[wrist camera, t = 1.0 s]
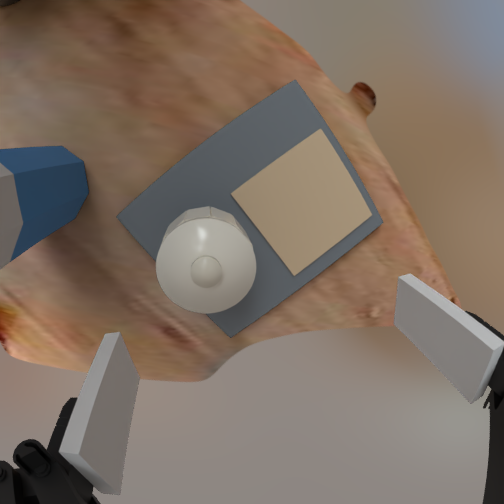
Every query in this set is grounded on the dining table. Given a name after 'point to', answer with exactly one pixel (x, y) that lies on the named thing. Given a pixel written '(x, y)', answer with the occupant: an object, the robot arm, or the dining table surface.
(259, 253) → the board
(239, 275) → the cap
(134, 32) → the dining table surface
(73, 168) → the water bottle
